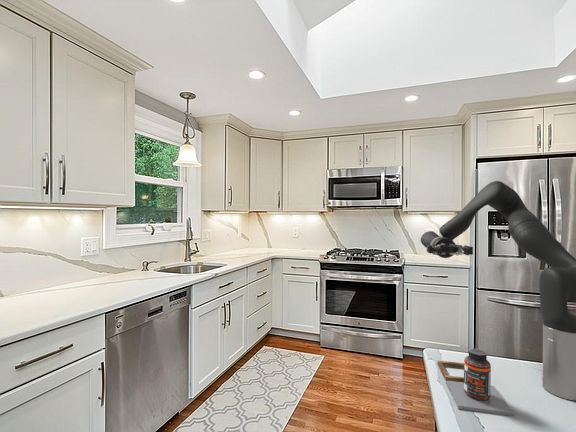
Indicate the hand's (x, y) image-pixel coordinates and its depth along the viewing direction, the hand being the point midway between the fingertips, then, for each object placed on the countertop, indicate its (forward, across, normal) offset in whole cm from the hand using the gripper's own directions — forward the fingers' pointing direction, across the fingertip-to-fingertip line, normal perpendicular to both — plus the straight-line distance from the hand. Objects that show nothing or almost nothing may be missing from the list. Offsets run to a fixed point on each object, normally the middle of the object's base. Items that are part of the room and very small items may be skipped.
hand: (454, 251), depth 106 cm
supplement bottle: (+25, -1, +34) cm, 42 cm away
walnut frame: (+13, -2, +35) cm, 37 cm away
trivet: (+25, -1, +35) cm, 43 cm away
